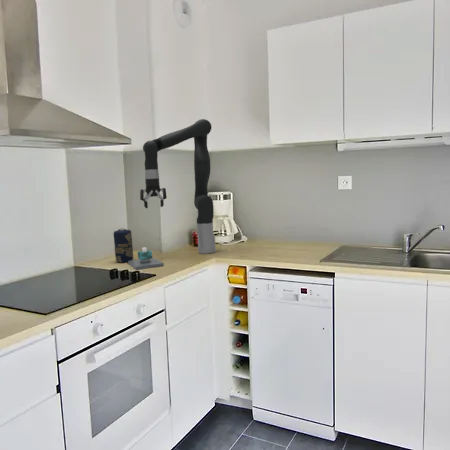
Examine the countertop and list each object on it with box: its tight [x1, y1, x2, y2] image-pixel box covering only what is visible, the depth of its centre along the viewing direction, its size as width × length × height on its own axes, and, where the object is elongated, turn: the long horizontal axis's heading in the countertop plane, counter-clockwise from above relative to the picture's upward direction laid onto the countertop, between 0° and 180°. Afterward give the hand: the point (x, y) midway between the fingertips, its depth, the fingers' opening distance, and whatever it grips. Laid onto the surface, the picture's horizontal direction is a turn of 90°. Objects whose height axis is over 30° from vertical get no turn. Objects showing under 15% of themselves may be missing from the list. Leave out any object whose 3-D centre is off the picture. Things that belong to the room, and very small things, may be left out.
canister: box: [113, 228, 134, 263], centre depth 229 cm, size 10×10×18 cm
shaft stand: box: [127, 246, 165, 271], centre depth 217 cm, size 14×18×9 cm
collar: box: [137, 249, 153, 260], centre depth 217 cm, size 6×6×4 cm
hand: (154, 207), depth 233 cm, fingers open, 8 cm apart
